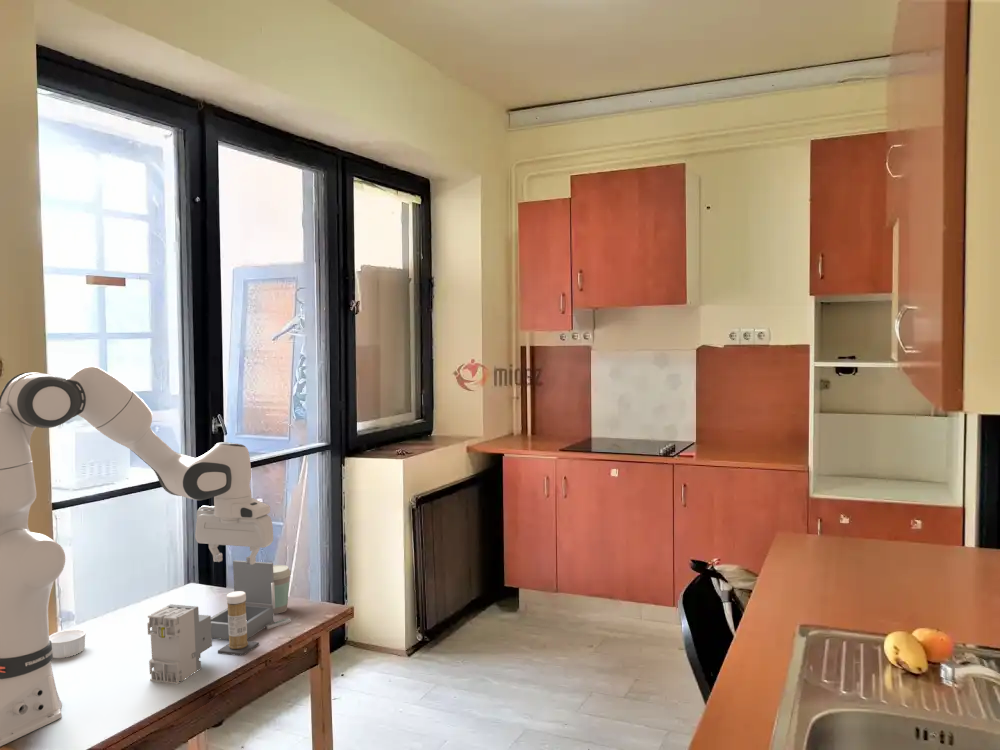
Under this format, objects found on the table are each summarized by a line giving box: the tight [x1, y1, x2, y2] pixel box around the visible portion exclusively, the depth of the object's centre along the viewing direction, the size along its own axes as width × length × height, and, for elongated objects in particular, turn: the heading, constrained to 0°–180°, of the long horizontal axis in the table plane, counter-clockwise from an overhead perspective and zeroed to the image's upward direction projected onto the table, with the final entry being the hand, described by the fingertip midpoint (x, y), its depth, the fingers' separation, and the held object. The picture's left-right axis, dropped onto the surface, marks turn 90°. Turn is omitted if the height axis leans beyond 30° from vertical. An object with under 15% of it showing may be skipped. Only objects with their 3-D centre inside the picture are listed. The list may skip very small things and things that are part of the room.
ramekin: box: [49, 628, 87, 659], centre depth 199 cm, size 9×9×4 cm
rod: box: [264, 617, 291, 630], centre depth 214 cm, size 7×1×1 cm, turn 137°
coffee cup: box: [273, 564, 292, 615], centre depth 225 cm, size 8×8×12 cm
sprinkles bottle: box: [226, 591, 248, 649], centre depth 198 cm, size 5×5×13 cm
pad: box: [217, 640, 260, 656], centre depth 199 cm, size 7×7×1 cm
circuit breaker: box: [147, 603, 213, 685], centre depth 187 cm, size 8×14×15 cm, turn 164°
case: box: [211, 559, 275, 641], centre depth 212 cm, size 15×13×16 cm
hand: (234, 562), depth 197 cm, fingers open, 8 cm apart
